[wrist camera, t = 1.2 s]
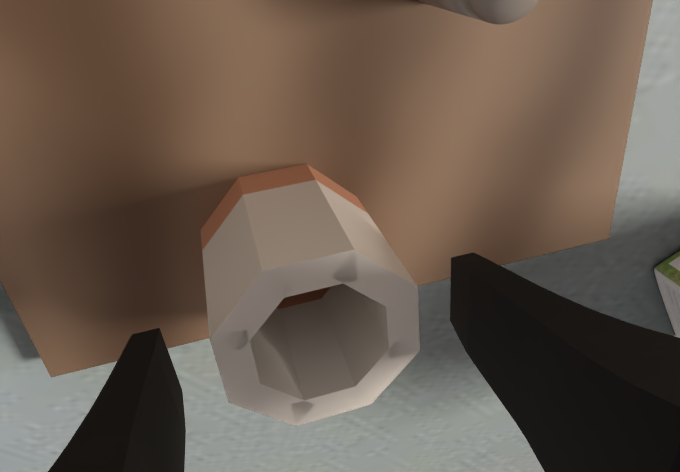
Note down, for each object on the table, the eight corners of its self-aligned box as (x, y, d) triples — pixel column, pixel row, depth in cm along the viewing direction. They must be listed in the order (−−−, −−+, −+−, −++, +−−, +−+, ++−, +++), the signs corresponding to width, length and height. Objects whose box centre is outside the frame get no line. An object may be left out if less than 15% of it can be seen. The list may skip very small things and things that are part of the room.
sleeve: (224, 319, 18) (240, 442, 13) (188, 187, 15) (193, 286, 11) (365, 284, 18) (421, 390, 14) (352, 154, 16) (416, 235, 12)
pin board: (57, 356, 18) (16, 502, 13) (-210, -171, 11) (-498, -244, 6) (591, 226, 21) (705, 307, 17) (667, -239, 14) (904, -319, 9)
